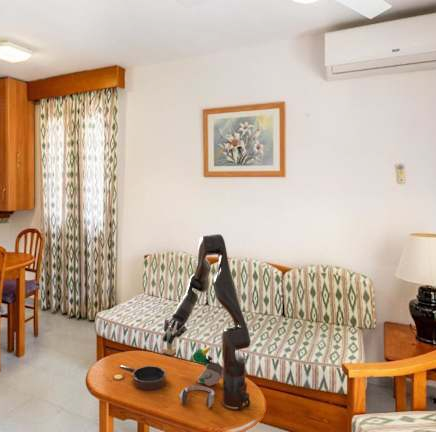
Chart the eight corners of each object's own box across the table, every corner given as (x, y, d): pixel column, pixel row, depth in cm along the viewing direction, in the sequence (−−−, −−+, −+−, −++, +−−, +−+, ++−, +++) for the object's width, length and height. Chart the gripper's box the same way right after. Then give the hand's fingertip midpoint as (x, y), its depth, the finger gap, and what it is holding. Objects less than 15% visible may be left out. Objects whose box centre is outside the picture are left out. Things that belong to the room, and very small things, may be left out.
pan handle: (138, 373, 186) (138, 369, 185) (135, 374, 184) (135, 371, 184) (121, 367, 191) (121, 364, 191) (118, 368, 190) (118, 365, 190)
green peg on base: (176, 354, 188) (176, 332, 187) (171, 357, 185) (171, 334, 184) (167, 351, 191) (167, 329, 190) (162, 354, 187) (162, 332, 186)
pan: (171, 380, 184) (171, 371, 183) (152, 395, 171) (152, 385, 170) (146, 371, 192) (146, 363, 191) (126, 385, 179) (126, 376, 179)
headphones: (210, 415, 155) (217, 396, 174) (211, 400, 155) (218, 383, 174) (168, 408, 159) (180, 391, 178) (169, 394, 159) (180, 378, 179)
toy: (235, 376, 174) (202, 344, 178) (212, 402, 177) (179, 369, 181) (237, 371, 180) (205, 340, 184) (214, 395, 183) (183, 364, 187)
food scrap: (119, 379, 183) (119, 381, 183) (124, 375, 186) (124, 377, 186) (112, 377, 185) (112, 378, 185) (117, 373, 188) (117, 375, 188)
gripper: (169, 303, 196) (152, 334, 188) (191, 310, 186) (173, 342, 179) (176, 311, 200) (160, 341, 192) (197, 318, 191) (181, 350, 183)
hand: (166, 341), depth 185 cm, fingers closed on green peg on base, 2 cm apart
